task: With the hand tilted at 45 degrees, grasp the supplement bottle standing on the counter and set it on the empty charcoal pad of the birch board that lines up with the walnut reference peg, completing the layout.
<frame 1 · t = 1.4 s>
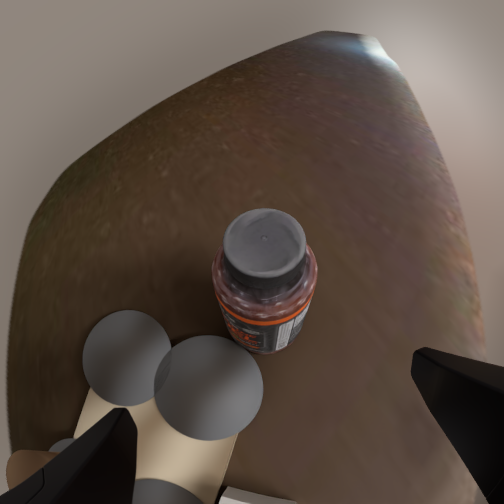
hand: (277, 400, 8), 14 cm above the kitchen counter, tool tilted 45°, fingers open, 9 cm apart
board: (147, 450, 18), on the kitchen counter
supplement bottle: (264, 321, 24), on the kitchen counter
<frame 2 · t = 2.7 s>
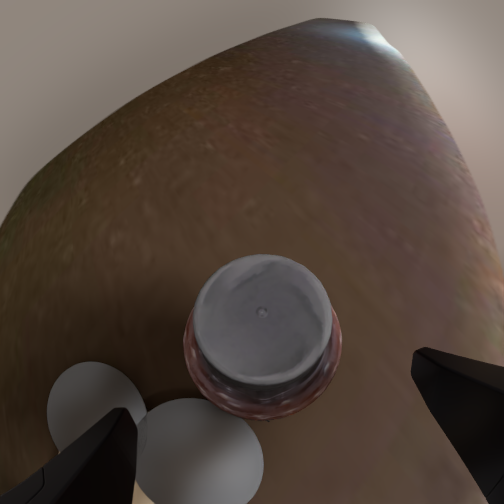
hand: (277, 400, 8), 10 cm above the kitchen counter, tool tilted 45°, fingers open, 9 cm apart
supplement bottle: (262, 375, 18), on the kitchen counter
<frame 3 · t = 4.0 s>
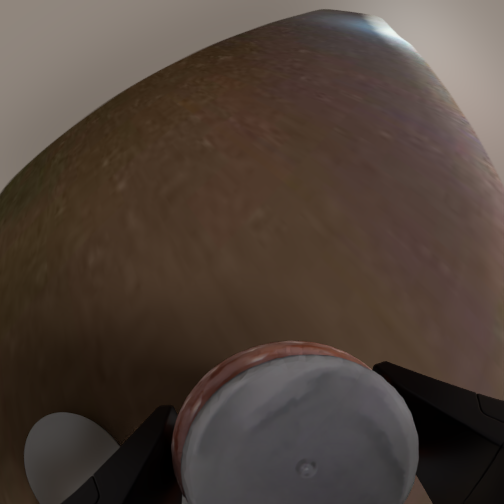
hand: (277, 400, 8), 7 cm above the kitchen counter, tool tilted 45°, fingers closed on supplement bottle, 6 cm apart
supplement bottle: (275, 433, 13), on the kitchen counter, touching gripper
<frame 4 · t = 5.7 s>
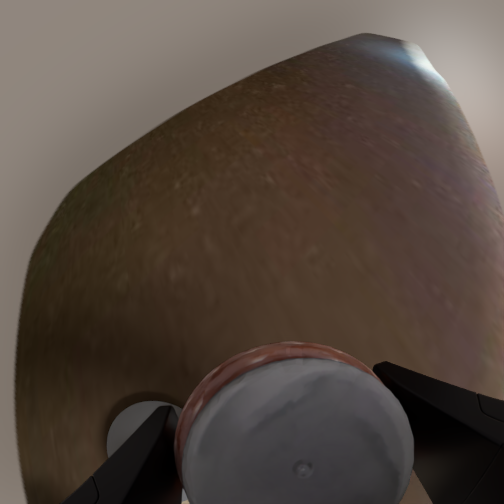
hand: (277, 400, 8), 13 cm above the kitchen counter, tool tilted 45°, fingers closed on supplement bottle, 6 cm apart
supplement bottle: (278, 430, 14), point 6 cm above the kitchen counter, touching gripper
when the fingers open (9 cm above the kitchen counter, at t = 7.5 s): supplement bottle stays where it is, resting on board.
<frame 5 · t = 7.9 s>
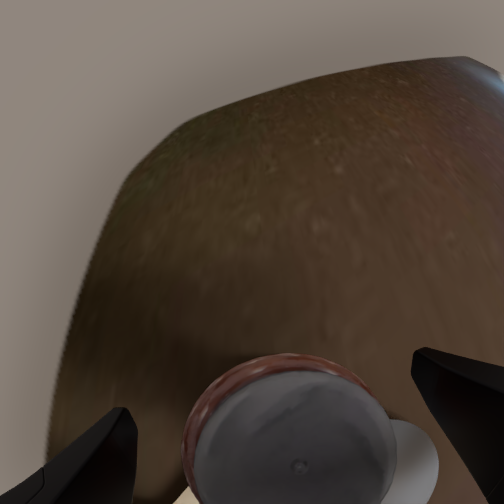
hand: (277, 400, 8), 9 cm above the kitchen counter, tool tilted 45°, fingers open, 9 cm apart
supplement bottle: (274, 434, 14), point 1 cm above the kitchen counter, touching board
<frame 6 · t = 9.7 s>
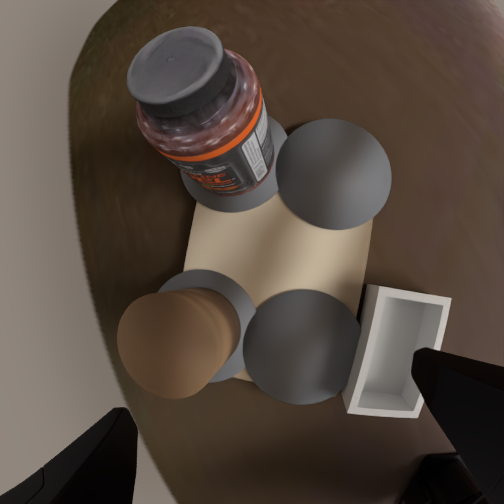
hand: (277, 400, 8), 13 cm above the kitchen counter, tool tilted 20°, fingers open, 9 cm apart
board: (275, 259, 21), on the kitchen counter
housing: (387, 345, 19), on the kitchen counter
supplement bottle: (234, 159, 21), point 1 cm above the kitchen counter, touching board
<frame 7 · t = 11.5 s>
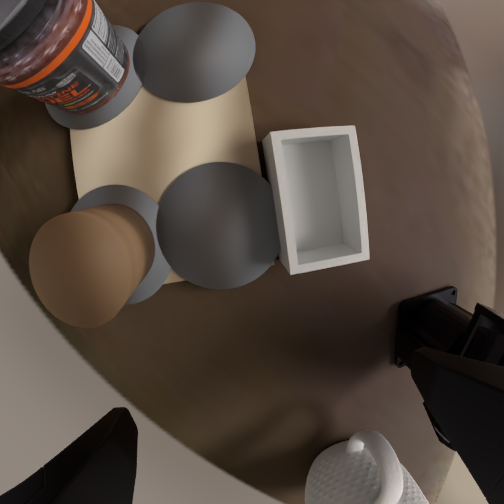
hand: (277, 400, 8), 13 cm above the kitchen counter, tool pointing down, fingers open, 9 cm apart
mug: (342, 450, 26), on the kitchen counter
board: (161, 150, 18), on the kitchen counter
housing: (307, 195, 20), on the kitchen counter
supplement bottle: (93, 75, 16), point 1 cm above the kitchen counter, touching board
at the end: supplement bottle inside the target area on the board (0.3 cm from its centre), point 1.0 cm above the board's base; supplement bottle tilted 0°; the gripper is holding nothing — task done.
